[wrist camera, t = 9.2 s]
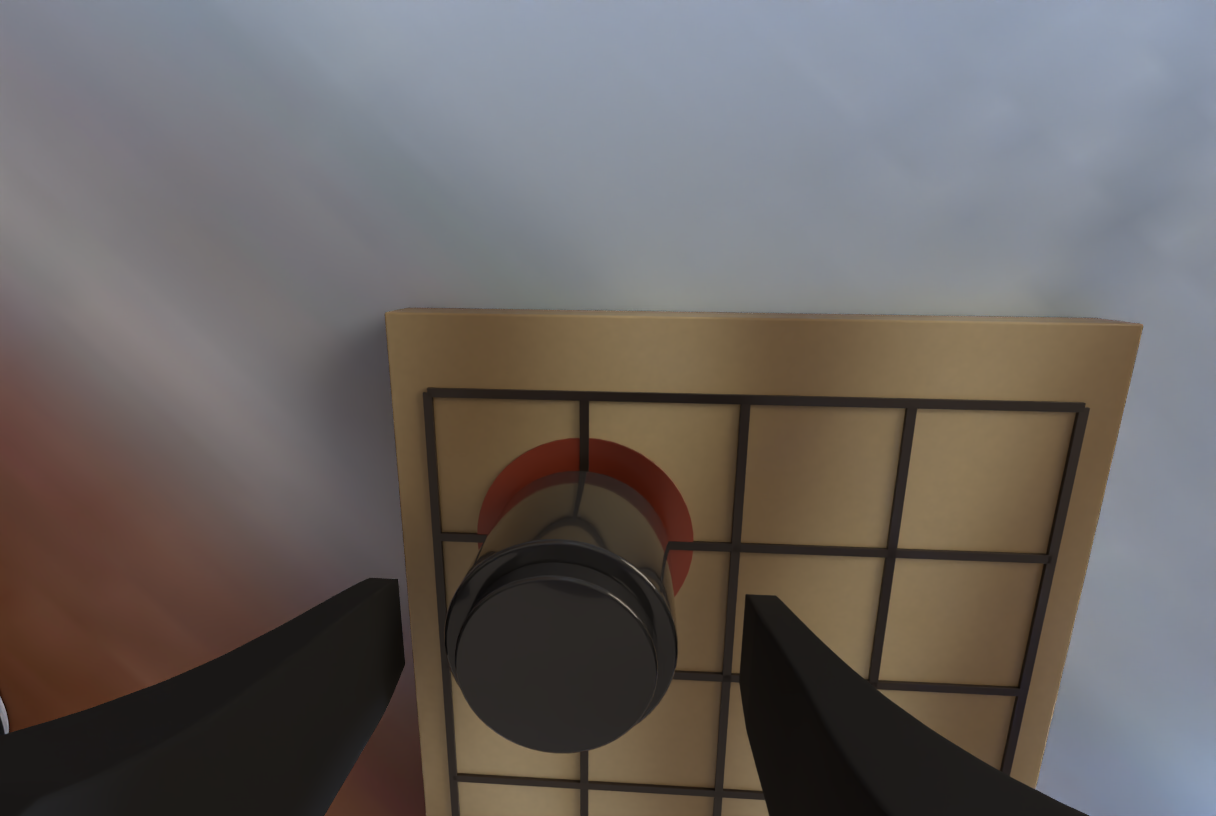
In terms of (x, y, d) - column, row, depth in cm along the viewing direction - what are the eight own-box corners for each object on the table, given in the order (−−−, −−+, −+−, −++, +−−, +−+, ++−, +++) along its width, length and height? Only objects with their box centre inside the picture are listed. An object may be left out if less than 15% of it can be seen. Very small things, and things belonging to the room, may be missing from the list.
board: (1096, 317, 15) (1149, 324, 13) (970, 911, 20) (998, 966, 18) (407, 307, 16) (381, 312, 14) (448, 875, 21) (432, 925, 19)
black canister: (672, 464, 15) (685, 562, 10) (666, 622, 16) (675, 779, 11) (493, 458, 15) (423, 551, 10) (499, 615, 16) (439, 765, 11)
